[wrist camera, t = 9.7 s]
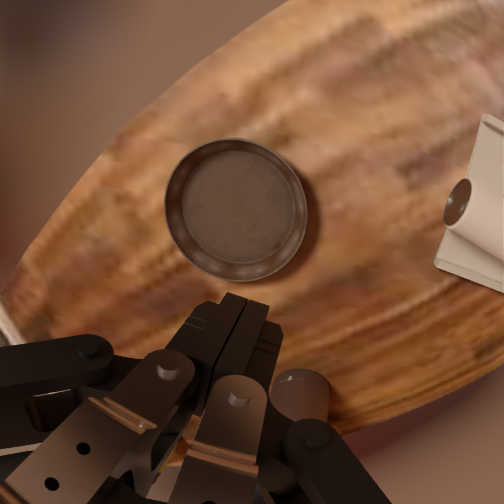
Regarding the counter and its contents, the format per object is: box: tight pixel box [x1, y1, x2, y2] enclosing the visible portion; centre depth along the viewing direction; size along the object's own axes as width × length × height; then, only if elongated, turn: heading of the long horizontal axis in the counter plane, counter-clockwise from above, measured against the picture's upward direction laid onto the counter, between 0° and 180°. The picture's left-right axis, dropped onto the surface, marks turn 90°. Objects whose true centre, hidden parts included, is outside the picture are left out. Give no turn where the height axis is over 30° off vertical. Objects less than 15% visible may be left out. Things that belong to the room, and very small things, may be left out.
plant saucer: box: [164, 138, 308, 282], centre depth 39 cm, size 18×18×3 cm
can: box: [444, 178, 504, 262], centre depth 30 cm, size 6×6×12 cm
